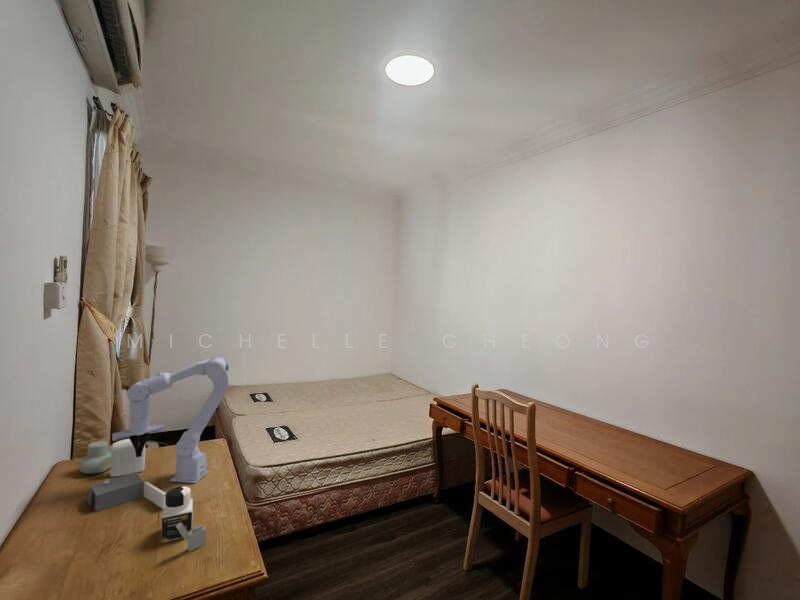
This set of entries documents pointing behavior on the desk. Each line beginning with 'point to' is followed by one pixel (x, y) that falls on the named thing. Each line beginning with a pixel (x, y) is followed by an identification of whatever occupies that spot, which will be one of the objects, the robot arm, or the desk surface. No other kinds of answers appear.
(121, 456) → the photo printer
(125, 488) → the camera case
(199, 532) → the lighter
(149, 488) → the side door
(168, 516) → the medicine bottle
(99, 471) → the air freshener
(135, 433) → the robot arm
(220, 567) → the desk surface
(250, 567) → the desk surface
